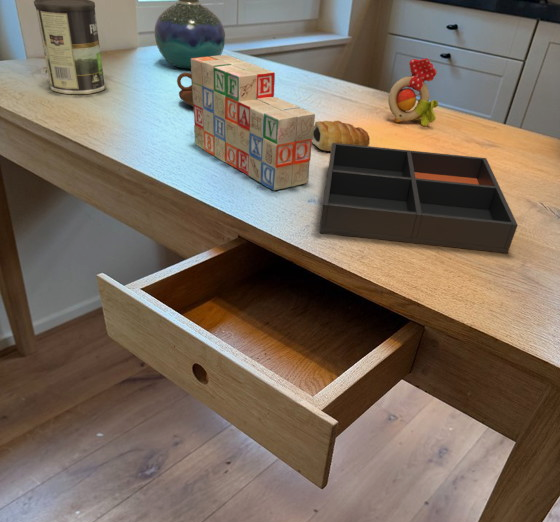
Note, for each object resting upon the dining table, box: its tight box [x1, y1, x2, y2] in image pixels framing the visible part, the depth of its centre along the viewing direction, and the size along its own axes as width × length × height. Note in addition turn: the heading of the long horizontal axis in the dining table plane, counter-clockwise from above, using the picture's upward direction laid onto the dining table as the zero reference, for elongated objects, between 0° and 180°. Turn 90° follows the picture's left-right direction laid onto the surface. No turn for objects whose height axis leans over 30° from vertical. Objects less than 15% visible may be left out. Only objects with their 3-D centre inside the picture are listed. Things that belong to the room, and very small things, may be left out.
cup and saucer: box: [176, 70, 194, 108], centre depth 103 cm, size 12×12×6 cm
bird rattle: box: [387, 57, 439, 127], centre depth 101 cm, size 6×11×9 cm
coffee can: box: [33, 0, 106, 95], centre depth 104 cm, size 10×10×14 cm
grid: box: [319, 143, 518, 254], centre depth 74 cm, size 22×22×4 cm
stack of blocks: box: [190, 54, 316, 191], centre depth 80 cm, size 21×6×12 cm, turn 36°
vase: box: [154, 0, 226, 70], centre depth 124 cm, size 15×15×13 cm
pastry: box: [312, 120, 371, 152], centre depth 90 cm, size 9×7×4 cm
